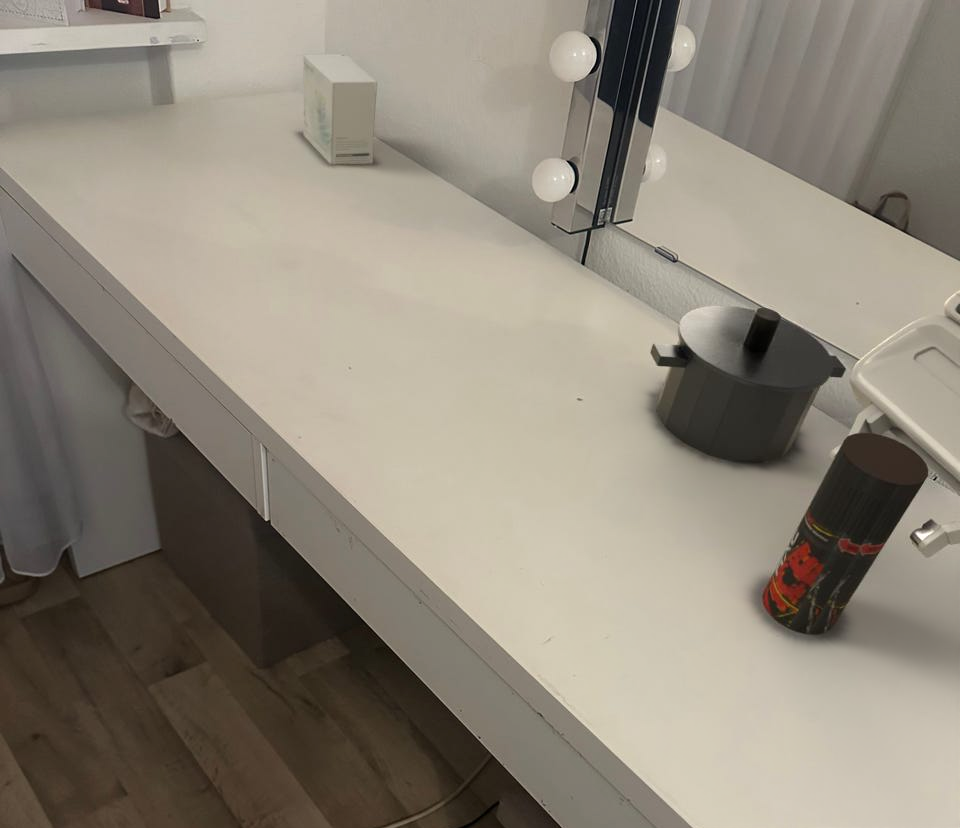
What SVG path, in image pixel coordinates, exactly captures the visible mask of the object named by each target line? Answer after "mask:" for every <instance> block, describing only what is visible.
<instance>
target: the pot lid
mask: <svg viewBox="0 0 960 828" xmlns="http://www.w3.org/2000/svg"><path fill="white" fill-rule="evenodd" d="M677 336H678V341H679V340H680V342H681V344H682V345H683V347H684V348H685V350H686V351H687V352H688V353H689V354H690V355H691V356H692V357H693V358H694V359H696V360H697V361H698V362H699V363H701V364H702V365H704V366H705V367H707V368H708V369H710V370H712V371H713V372H715V373H717V374H719V375H721V376H723V377H726V378H728V379H730V380H733V381H735V382H738V383H741V384H744V385H747V386H751V387H754V388H759V389H763V390H769V391H776V392H803V391H809V390H812V389H816V388H818V387H820V388H821V387H822V386H823V385H825V383H826V382H828V380H829V379H830V378H831V377H830V376H831V373H832V371H833V362H832V359H831V357H830V355H831V354H830V353H829V351H828V349H826V347H824V345H823V344H822V343H821V342H820V341H818V340H817V338H815V337H814V336H812V335H811V334H810V333H808V332H807V331H805V330H804V329H803V328H801V327H799V326H797V325H795V324H793V323H791V322H789V321H787V320H785V319H782V316H781V314H780V313H778V312H777V311H775V310H774V309H771V308H767V307H758V308H756V309H751V308H745V307H742V306H734V305H733V306H732V305H707V306H701V307H698V308H695V309H692V310H690V311H688V312H687V313H686V314H684V315H683V317H682V318H681V319H680V321H679V324H678V328H677Z"/></svg>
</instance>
